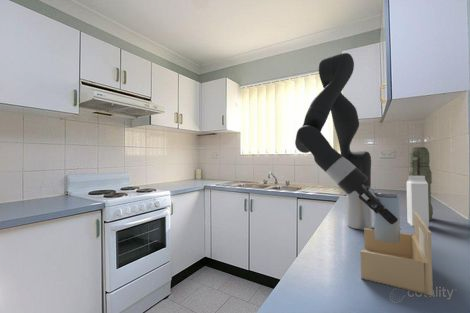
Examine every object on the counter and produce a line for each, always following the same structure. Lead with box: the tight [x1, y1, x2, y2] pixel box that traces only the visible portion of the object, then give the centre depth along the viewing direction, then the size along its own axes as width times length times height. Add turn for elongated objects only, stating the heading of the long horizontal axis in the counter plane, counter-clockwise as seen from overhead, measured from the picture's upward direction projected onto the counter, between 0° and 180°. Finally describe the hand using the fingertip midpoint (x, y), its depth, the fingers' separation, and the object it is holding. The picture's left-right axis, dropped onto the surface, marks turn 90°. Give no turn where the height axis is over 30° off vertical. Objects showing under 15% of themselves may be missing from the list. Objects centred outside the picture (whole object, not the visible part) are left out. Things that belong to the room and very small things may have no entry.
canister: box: [373, 191, 401, 243], centre depth 63 cm, size 6×6×13 cm
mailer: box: [360, 212, 434, 297], centre depth 62 cm, size 22×14×14 cm, turn 148°
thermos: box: [407, 146, 434, 221], centre depth 111 cm, size 9×12×35 cm
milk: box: [406, 175, 430, 229], centre depth 100 cm, size 6×6×22 cm
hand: (393, 219), depth 62 cm, fingers closed on canister, 6 cm apart
